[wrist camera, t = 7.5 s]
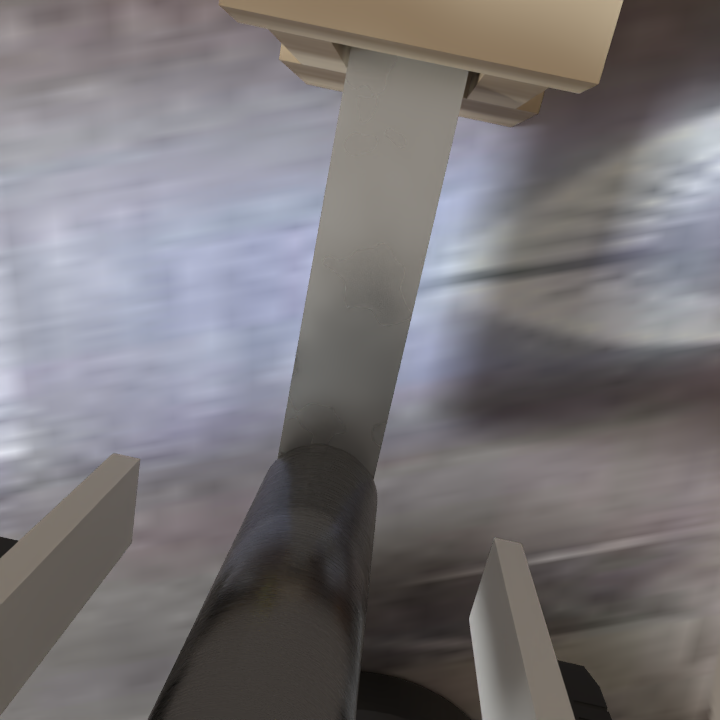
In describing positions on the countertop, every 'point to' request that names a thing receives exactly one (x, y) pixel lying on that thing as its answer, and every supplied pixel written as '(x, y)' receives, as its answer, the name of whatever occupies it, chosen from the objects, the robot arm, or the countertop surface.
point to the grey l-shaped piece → (329, 420)
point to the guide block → (449, 43)
